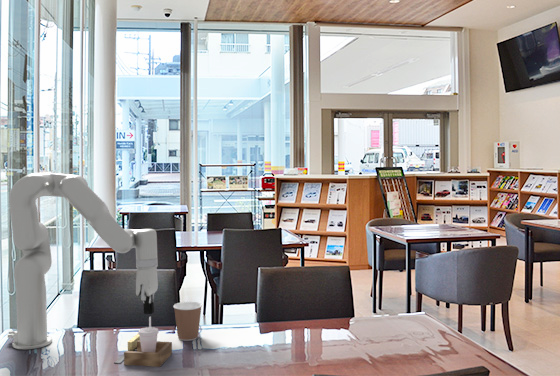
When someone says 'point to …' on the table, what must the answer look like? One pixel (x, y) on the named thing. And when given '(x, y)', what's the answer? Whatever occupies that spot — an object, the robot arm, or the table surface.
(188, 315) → the coffee cup
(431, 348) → the table surface
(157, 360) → the cradle
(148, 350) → the smoothie
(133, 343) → the lock bar
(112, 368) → the table surface
